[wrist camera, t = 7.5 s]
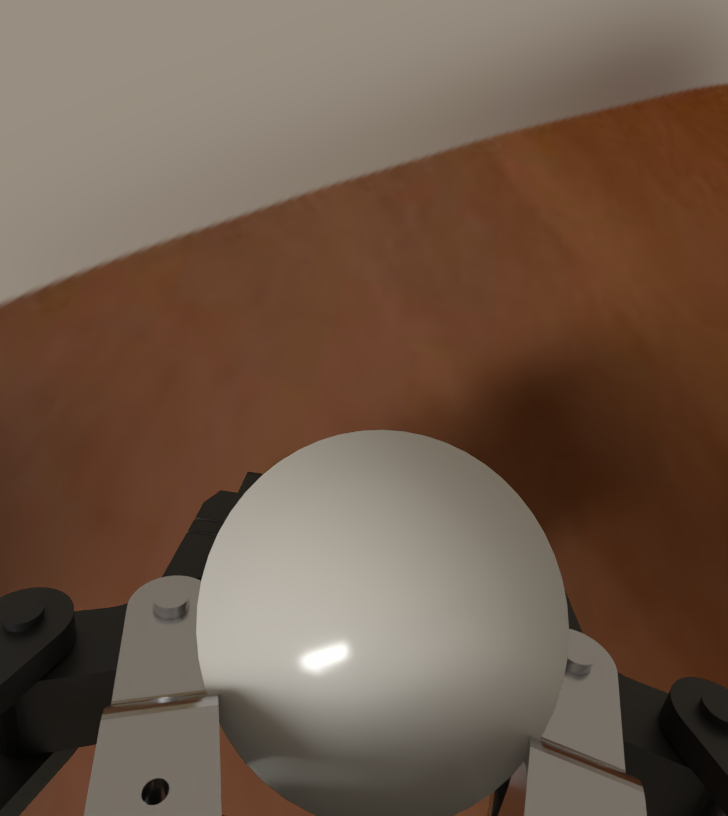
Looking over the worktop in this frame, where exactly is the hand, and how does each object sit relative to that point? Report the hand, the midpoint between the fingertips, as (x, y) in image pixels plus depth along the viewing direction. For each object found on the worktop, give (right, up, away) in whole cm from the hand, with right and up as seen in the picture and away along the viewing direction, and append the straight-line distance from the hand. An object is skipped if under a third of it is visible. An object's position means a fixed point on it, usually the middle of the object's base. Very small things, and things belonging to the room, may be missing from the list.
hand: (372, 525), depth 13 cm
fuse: (-1, -3, +4) cm, 5 cm away
